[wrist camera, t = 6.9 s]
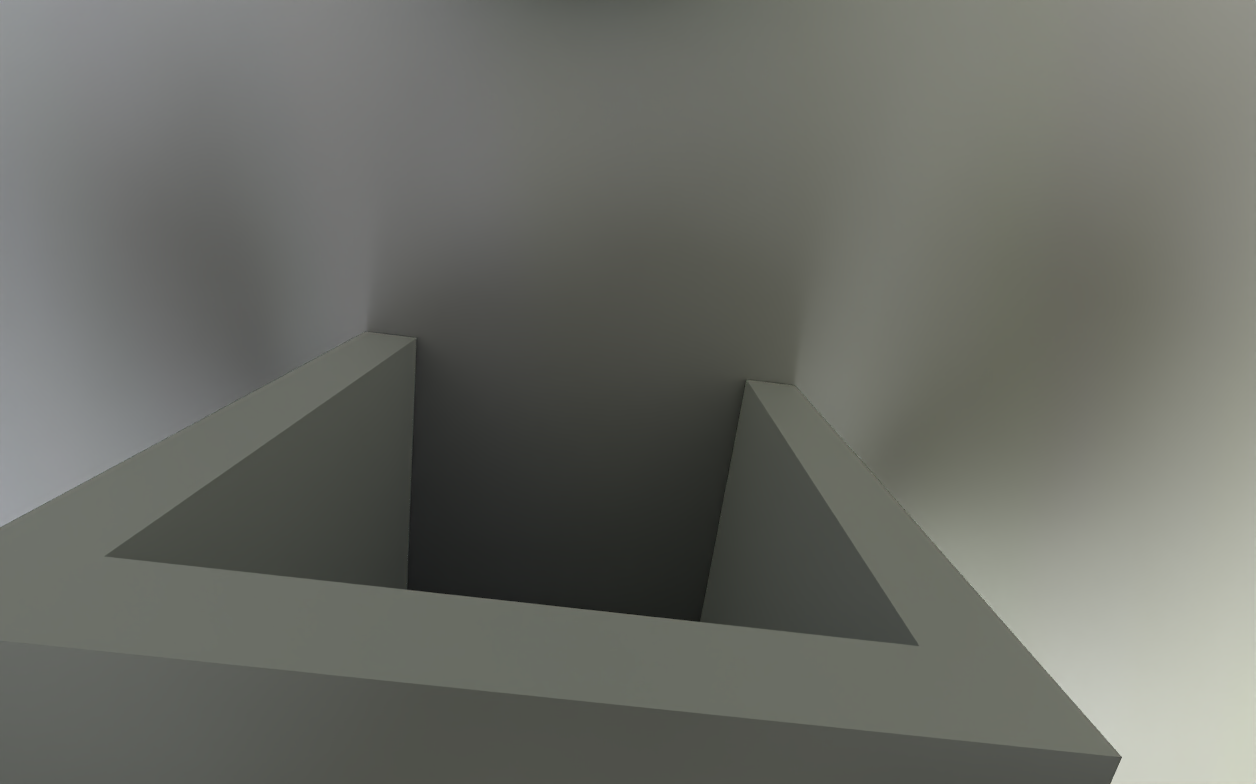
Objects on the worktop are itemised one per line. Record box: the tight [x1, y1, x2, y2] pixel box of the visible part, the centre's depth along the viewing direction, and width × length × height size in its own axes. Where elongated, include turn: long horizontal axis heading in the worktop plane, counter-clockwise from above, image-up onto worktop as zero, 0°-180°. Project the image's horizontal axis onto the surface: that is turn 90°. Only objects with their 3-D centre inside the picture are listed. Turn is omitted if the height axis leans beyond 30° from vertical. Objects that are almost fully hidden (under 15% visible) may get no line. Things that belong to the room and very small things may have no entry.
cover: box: [0, 331, 1122, 784], centre depth 8 cm, size 7×7×7 cm
